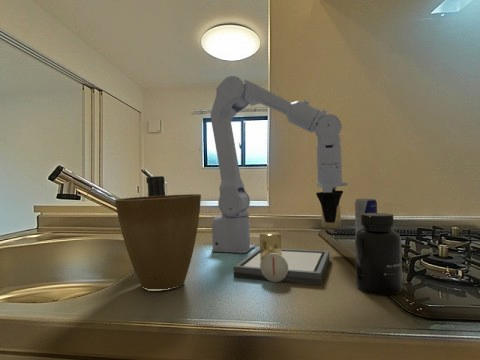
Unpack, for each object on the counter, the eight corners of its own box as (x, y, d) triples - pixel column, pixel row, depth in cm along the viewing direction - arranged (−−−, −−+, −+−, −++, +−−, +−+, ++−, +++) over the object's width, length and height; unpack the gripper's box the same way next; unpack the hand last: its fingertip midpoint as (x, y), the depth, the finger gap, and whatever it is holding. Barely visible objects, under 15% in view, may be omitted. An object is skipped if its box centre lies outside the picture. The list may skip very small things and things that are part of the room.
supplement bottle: (401, 299, 44) (398, 217, 44) (352, 292, 48) (349, 216, 48) (404, 284, 50) (401, 212, 50) (360, 278, 54) (358, 211, 54)
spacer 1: (257, 260, 61) (256, 235, 61) (263, 255, 66) (263, 232, 66) (278, 261, 60) (277, 236, 60) (283, 256, 64) (283, 232, 64)
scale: (232, 278, 56) (231, 251, 56) (259, 256, 72) (258, 235, 72) (320, 286, 51) (319, 256, 51) (329, 260, 66) (328, 237, 66)
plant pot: (213, 272, 61) (210, 192, 61) (188, 302, 46) (184, 197, 46) (144, 271, 63) (141, 194, 63) (99, 299, 49) (95, 200, 49)
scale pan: (243, 269, 58) (243, 266, 58) (263, 252, 70) (263, 250, 70) (313, 274, 53) (313, 271, 53) (321, 256, 65) (321, 253, 65)
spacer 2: (320, 228, 72) (320, 207, 72) (323, 225, 76) (322, 205, 76) (340, 228, 71) (339, 207, 71) (341, 225, 75) (340, 205, 75)
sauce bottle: (180, 259, 72) (177, 175, 72) (163, 266, 66) (159, 175, 66) (158, 257, 75) (155, 176, 75) (140, 264, 69) (136, 176, 69)
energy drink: (380, 247, 76) (379, 199, 76) (358, 247, 77) (356, 200, 77) (375, 243, 81) (374, 198, 81) (354, 243, 82) (352, 198, 82)
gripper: (345, 163, 65) (347, 225, 65) (347, 165, 79) (349, 217, 79) (312, 164, 68) (314, 225, 68) (319, 166, 81) (321, 216, 82)
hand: (331, 220), depth 74 cm, fingers closed on spacer 2, 4 cm apart
